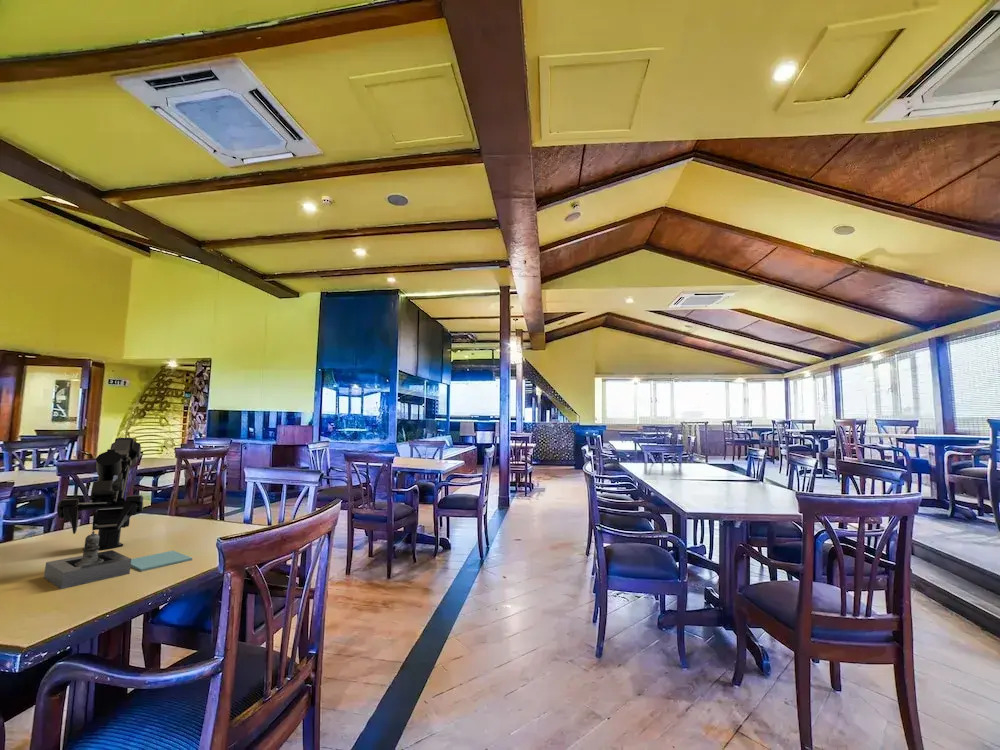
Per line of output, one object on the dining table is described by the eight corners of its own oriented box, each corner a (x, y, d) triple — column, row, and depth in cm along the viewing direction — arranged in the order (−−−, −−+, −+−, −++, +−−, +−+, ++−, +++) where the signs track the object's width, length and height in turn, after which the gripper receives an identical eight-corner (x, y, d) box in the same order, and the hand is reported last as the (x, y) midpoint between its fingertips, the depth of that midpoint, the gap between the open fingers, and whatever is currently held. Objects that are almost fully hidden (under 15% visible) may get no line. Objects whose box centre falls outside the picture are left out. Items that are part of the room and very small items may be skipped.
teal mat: (122, 562, 129) (123, 560, 130) (172, 552, 141) (173, 550, 141) (141, 571, 123) (141, 569, 123) (192, 559, 134) (192, 557, 134)
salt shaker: (68, 576, 117) (74, 531, 119) (96, 570, 123) (102, 527, 124) (77, 581, 115) (84, 534, 116) (105, 574, 120) (111, 530, 121)
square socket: (43, 577, 116) (46, 562, 117) (110, 563, 128) (112, 550, 129) (60, 589, 109) (63, 572, 109) (129, 573, 121) (131, 558, 121)
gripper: (64, 471, 124) (47, 517, 114) (146, 468, 135) (138, 511, 125) (66, 495, 130) (51, 541, 120) (146, 491, 140) (137, 533, 130)
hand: (96, 531), depth 123 cm, fingers open, 9 cm apart
